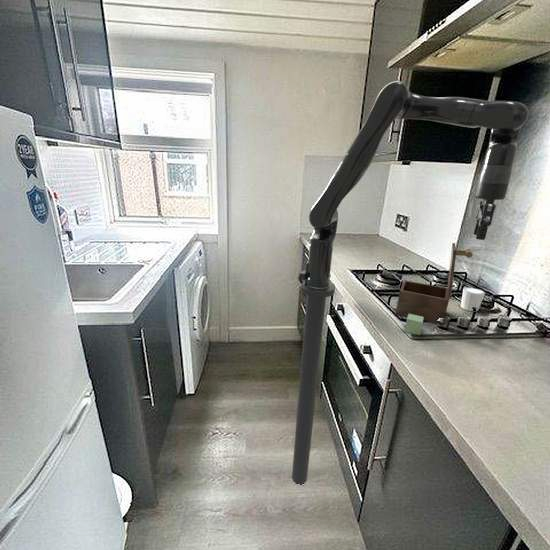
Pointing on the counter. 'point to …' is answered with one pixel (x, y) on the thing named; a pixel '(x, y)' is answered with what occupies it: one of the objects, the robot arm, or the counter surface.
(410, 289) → the chest
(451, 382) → the counter surface
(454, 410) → the counter surface
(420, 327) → the block
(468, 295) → the white cup
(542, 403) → the counter surface
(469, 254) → the lid
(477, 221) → the robot arm
